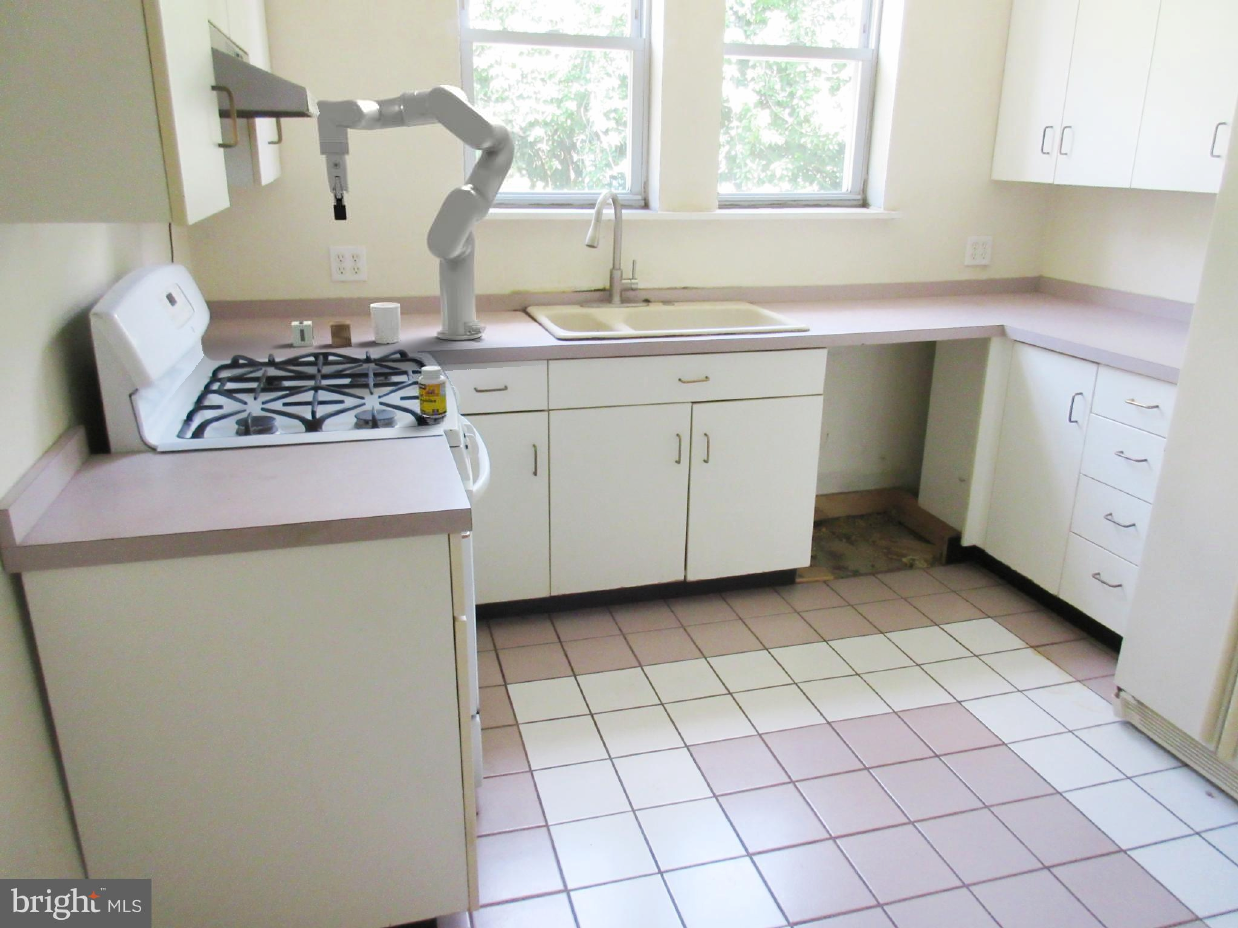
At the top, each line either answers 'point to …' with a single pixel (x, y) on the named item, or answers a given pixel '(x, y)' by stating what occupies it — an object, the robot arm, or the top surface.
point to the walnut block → (340, 333)
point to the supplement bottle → (432, 392)
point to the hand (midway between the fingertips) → (340, 220)
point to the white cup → (386, 322)
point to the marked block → (302, 333)
